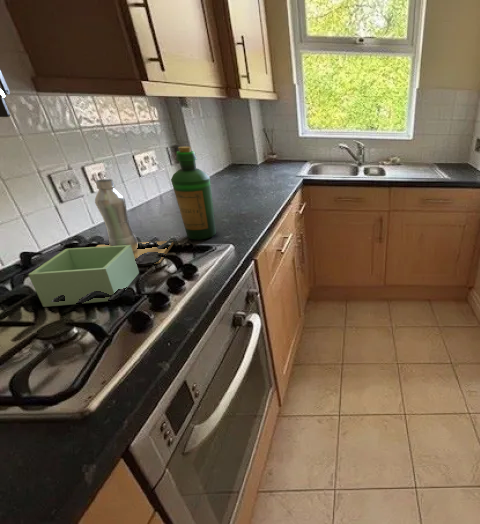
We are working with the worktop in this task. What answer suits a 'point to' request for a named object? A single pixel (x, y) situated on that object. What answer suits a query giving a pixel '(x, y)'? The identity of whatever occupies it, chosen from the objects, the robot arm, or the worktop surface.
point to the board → (149, 250)
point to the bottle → (194, 196)
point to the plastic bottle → (114, 215)
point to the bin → (84, 274)
